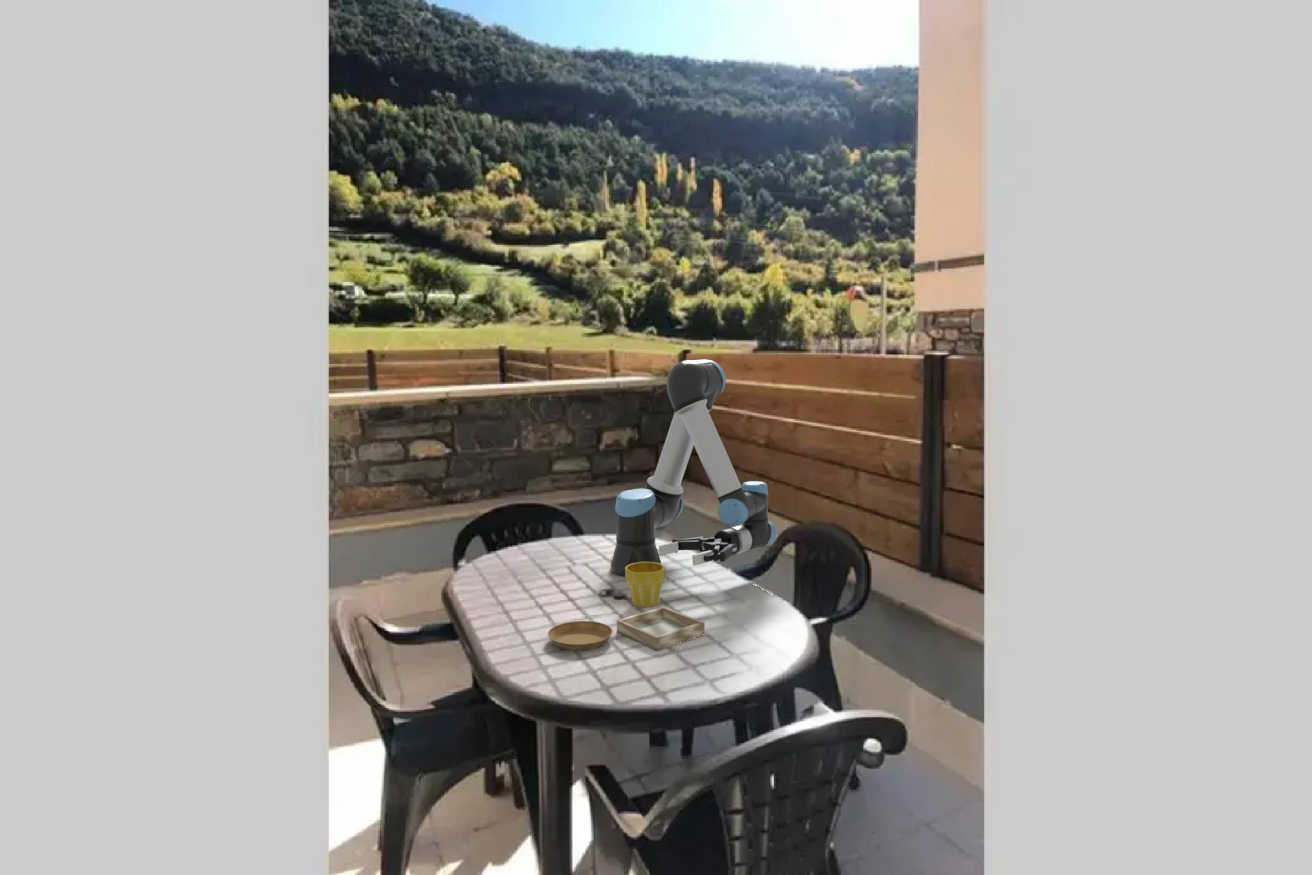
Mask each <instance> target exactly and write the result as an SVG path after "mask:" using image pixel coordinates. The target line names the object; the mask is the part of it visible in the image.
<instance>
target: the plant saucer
mask: <svg viewBox="0 0 1312 875" xmlns="http://www.w3.org/2000/svg"><path fill="white" fill-rule="evenodd" d="M613 632H614V631H613V629H612V627H610V626H609V625H608V624H606V623H602V622H599V621H591V620H577V621H570V622H568V621H567V622H563V623H561V624H557V625H555V626H553V627H552V628H550V629H549V630H548V632H547V635H548V638H549V639H550V640H551V641H552V642H553V643H554V644H555V645H556V646H557V647H559V648H560V649H563V650H566V651H570V652H583V651H584V652H586V651H591V650H595V649H597V648H600V647H601V646H603V645H604V644H605V643H606V642H607V641H608V640H609V639H610V637H611V636H612V635H613Z"/></svg>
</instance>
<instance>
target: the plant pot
mask: <svg viewBox="0 0 1312 875" xmlns="http://www.w3.org/2000/svg"><path fill="white" fill-rule="evenodd" d="M624 577H625V578H624V579H625V581H626V582H627V583H628V587H629V591H630V595H631V600H632V604H633V605H634V606H636V607H640V608H649V607H650V608H651V607H654V606H657V605H658V604H659V601H660V597H661V590H662V586H663V582H664V581H665V579H666V568H665V566H664V564H662V563H661V564H660V563H656V562H636V563H632V564H629V565H627V566H626V567H625V576H624Z"/></svg>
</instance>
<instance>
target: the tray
mask: <svg viewBox="0 0 1312 875" xmlns="http://www.w3.org/2000/svg"><path fill="white" fill-rule="evenodd" d="M705 625H706V623H705V622H704V621H701V620H700V619H696V618H694V617H691V616H689V615H686V614H684V613H681V612H678V611H676V610H673V609H671V608H669V607H667V606H660V607H658V608H654V609H651V610H648V611H644V612H641V613H638V614H634V615H630V616H628V617H627V616H626V617H624V618H621V619H616V633H617V634H619V633H620V634H619V635H621V634H622V635H621V636H624V637H625V638H627V637H628V638H627V639H629V640H632V641H635V642H637V643H638V642H639V643H638V644H640V643H641V645H643V646H645V647H648V648H649V649H651V650H653V651H656V652H658V650H659V651H661V650H664V649H668V648H670V647H674V646H676V645H678V643H679V644H681V643H680V642H682V643H684V641H685V642H688V641H690V640H689V639H691V640H693V639H692V638H694V637H697V638H700V637H702V636H701V635H703V634H705V631H706V630H705V628H706V627H705ZM705 635H706V634H705ZM699 636H700V637H699ZM703 636H704V635H703ZM694 639H695V638H694ZM687 640H688V641H687ZM675 644H676V645H675ZM669 646H670V647H669Z"/></svg>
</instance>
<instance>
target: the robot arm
mask: <svg viewBox="0 0 1312 875" xmlns="http://www.w3.org/2000/svg"><path fill="white" fill-rule="evenodd" d="M666 377H667V378H666V391H667V395H668V398H669V400H670V403H671V404H670V405H671V406H672V408H673V411H674V413H673V417H672V420H671V423H670V426H669V429H668V432H667V435H666V438H665V441H664V444H663V447H662V450H661V454H660V456H659V458H658V462H657V465H656V468H655V471H654V474H653V475H651V476H650V477H648V478H647V480H646V483H645V486H644V488H633V489H627V490H624V491H622V492H620V493H619V494H618V495H617V496H616V500H615V506H614V508H615V509H614V511H615V539H616V541H615V542H616V543H615V547H614V551H613V554H612V559H611V560H610V571H611V572H612V573H614V574H615V575H619V576H623V577H625V567H626V566H627V565H629V564H632V563H636V562H656V563H660V564H662V561H661V558H660V557H662V556H666V555H667V556H668V555H671V554H674V553H676V554H678V552H679V551H700V552H699V553H695V554H692V556H691V557H692V566H694V567H695V566H698V565H703V564H705V563H709V562H713V561H715V562H717V561H720V562H722V563H723V562H726V561H727V560H728V559H729V558H730V557H732V556H734V555H737V554H738V555H741V554H742V553H745V552H748V551H752V550H756V549H762V548H765V547H767V546H769V545H771V544H773V543H775V542H774V541H775V540H776V537H777V529H776V528H775V524H774V523H773V522H772V521H770V520H769V511H768V510H769V492H768V484H767V483H766V482H765V481H759V480H757V481H756V480H754V481H753V480H751V481H743V483H742V484H741V482H740V480H739V478H738V475H737V473H736V471H735V468H734V467H733V464H732V462H731V460H730V457H729V455H728V452H727V451H726V447H725V446H724V443H723V442H722V439H721V436H720V435H719V433H718V430H717V428H716V426H715V423H714V421H713V419H712V416H711V415H710V411H712V408H713V405H714V402H715V399H716V398H717V397H719V396H720V395H721V394H722V393H723V392H724V389H725V386H726V380H727V379H726V375H725V372H724V369H723V368H722V366H721V365H720V364H718V363H717V362H716V361H714V360H711V359H705V358H700V359H696V360H695V359H693V360H690V359H689V360H682V361H680V362H677V363H676V364H674V365H673V366H672V367H671V369H670V370H669V371H668V375H667V376H666ZM693 449H695V451H696V453H697V455H698V457H699V460H700V462H701V464H702V467H703V468H704V469H703V470H704V471H705V473H706V475H707V477H708V480H709V483H710V484H711V486H712V489H713V491H714V494H715V495H716V497H717V500H718V503H719V506H718V507H717V515H718V518H719V520H720V521H721V522H722V523H723V524H724V525H725V526H727V527H729V528H725V529H721V530H718V531H717V532H716V533H715V534H714V536H713V537H708V538H707V537H706V536H704V535H702V536H697V537H687V538H686V537H684V538H673V539H672V541H671V542H668V543H665V544H661V545H658V548H657V545H656V529H658V528H661V527H662V526H665V525H668V524H670V523H672V522H674V521H675V520H676V519H677V518H679V516H680V514H681V513H682V512H683V508H684V498H683V497H682V496H683V493H684V488H683V486H682V484H681V483H682V480H683V478H684V476H685V475H684V474H685V472H686V469H687V466H688V463H689V459H690V457H691V454H692V451H693Z"/></svg>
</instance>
